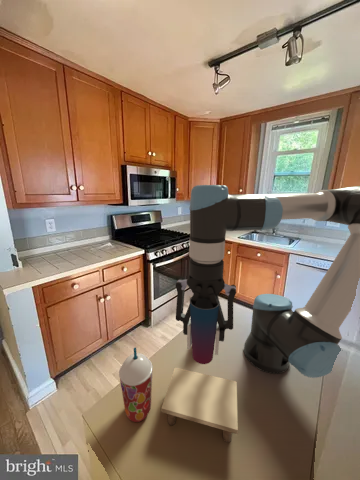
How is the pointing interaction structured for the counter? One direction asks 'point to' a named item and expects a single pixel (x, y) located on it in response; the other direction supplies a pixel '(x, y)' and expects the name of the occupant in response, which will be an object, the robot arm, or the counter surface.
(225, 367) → the counter surface
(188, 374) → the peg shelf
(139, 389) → the smoothie
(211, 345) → the cup
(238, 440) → the counter surface
